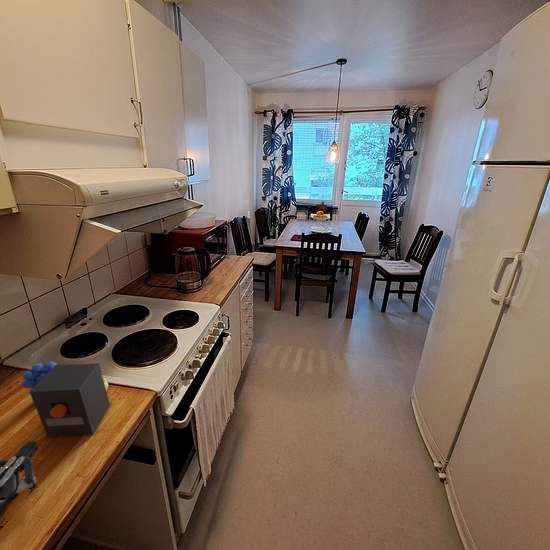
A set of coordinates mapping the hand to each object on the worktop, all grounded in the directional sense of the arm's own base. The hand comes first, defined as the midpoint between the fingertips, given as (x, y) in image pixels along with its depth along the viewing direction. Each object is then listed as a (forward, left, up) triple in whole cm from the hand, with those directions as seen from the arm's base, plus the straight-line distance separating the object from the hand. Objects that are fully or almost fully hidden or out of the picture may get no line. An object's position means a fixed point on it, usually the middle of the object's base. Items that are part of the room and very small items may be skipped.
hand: (33, 443), depth 65 cm
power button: (+3, +9, -2) cm, 9 cm away
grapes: (-5, +29, -10) cm, 31 cm away
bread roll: (+7, +25, -10) cm, 28 cm away
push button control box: (+5, +14, -10) cm, 18 cm away
